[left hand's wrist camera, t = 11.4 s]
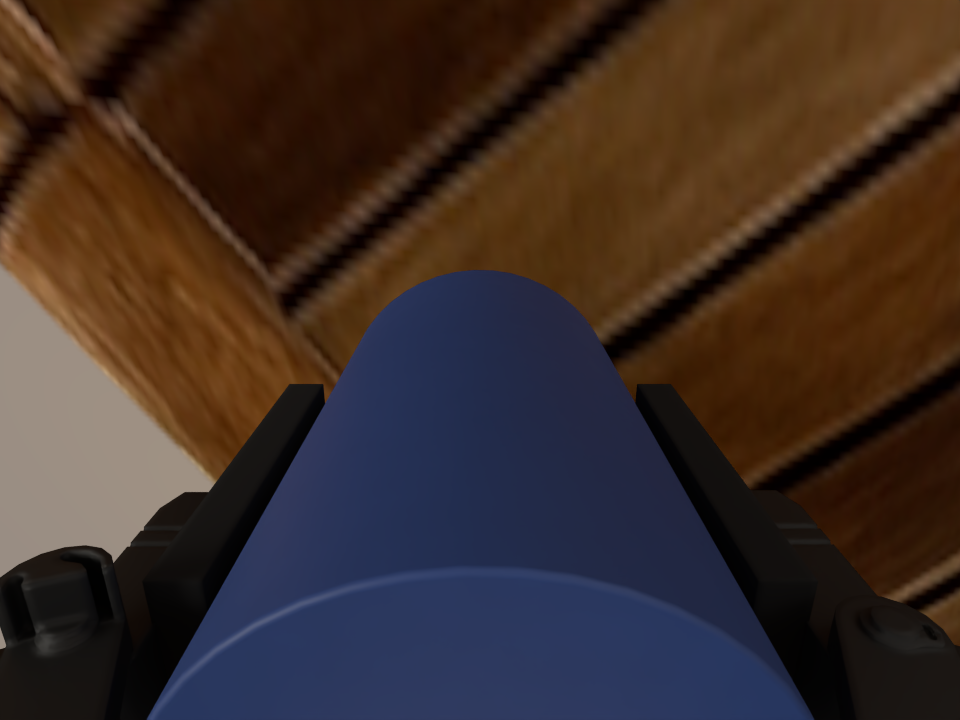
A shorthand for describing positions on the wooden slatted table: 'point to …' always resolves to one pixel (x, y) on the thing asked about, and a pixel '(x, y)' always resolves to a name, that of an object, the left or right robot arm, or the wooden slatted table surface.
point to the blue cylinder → (480, 543)
